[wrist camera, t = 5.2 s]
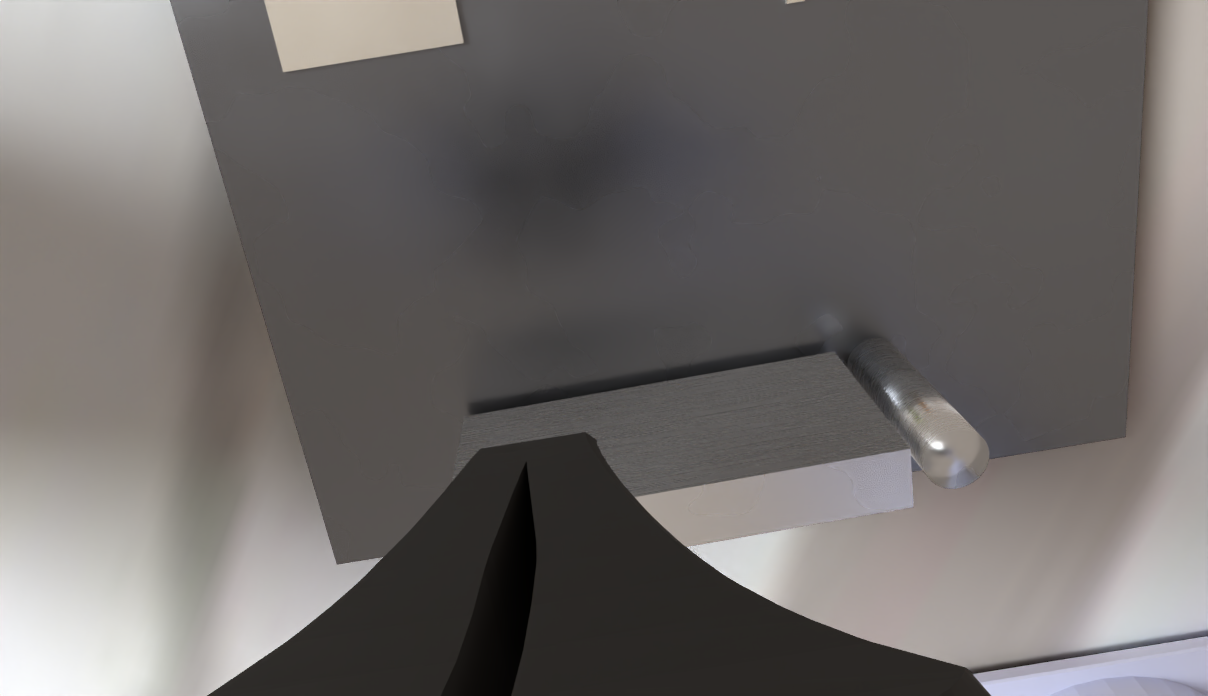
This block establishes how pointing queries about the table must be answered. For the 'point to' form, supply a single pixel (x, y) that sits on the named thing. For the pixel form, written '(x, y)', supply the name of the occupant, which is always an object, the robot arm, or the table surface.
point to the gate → (730, 447)
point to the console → (676, 214)
